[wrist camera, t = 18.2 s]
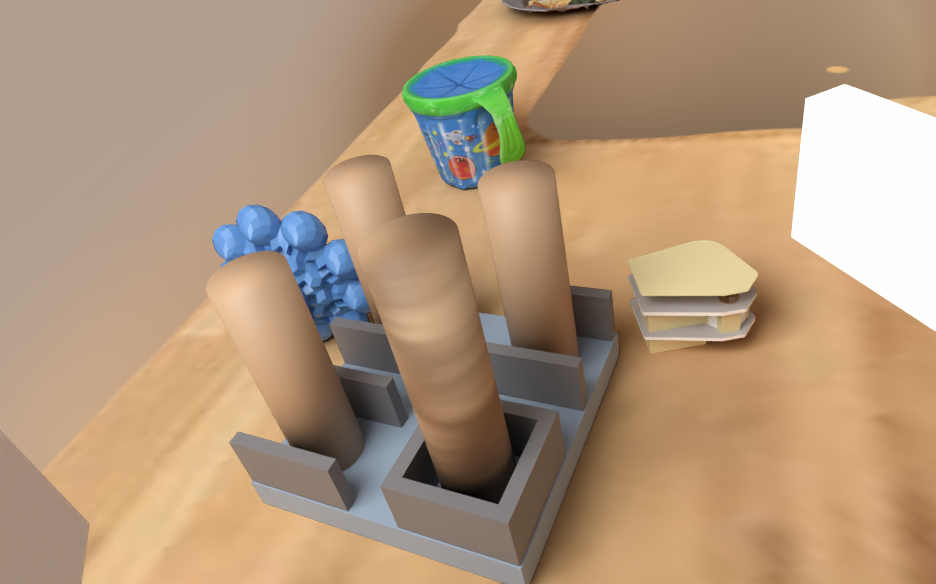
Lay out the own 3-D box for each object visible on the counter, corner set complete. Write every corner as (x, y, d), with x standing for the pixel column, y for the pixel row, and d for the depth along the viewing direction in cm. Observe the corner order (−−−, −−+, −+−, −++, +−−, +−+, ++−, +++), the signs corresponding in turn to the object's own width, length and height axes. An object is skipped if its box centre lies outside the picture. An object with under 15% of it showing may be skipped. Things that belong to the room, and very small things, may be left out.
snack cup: (403, 165, 73) (377, 74, 67) (489, 132, 76) (471, 41, 70) (464, 223, 61) (439, 119, 55) (563, 181, 64) (549, 77, 58)
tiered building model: (632, 397, 42) (627, 331, 39) (602, 308, 49) (596, 246, 46) (797, 369, 41) (806, 298, 38) (742, 282, 48) (746, 217, 45)
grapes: (233, 381, 50) (157, 249, 43) (267, 321, 55) (205, 194, 48) (381, 376, 47) (326, 234, 40) (402, 313, 53) (357, 177, 45)
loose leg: (532, 470, 36) (475, 216, 27) (503, 533, 34) (429, 277, 24) (465, 453, 38) (390, 210, 28) (433, 512, 35) (338, 266, 26)
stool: (619, 355, 44) (601, 148, 36) (527, 591, 33) (467, 373, 24) (400, 320, 52) (340, 142, 43) (263, 502, 41) (143, 312, 32)
